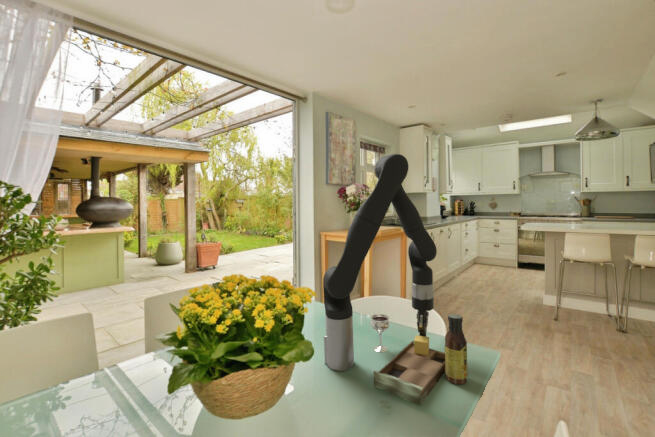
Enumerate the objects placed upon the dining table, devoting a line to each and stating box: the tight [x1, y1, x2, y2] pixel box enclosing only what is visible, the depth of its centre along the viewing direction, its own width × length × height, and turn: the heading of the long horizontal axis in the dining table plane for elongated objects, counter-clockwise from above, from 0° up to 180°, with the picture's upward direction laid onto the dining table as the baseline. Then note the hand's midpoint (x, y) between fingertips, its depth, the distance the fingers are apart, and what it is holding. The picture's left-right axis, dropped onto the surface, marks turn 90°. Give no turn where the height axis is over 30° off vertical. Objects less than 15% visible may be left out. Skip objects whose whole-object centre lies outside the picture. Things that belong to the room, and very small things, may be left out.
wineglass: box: [370, 313, 390, 353], centre depth 113 cm, size 7×7×12 cm
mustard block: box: [413, 334, 430, 356], centre depth 107 cm, size 4×4×4 cm
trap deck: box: [372, 340, 445, 406], centre depth 98 cm, size 14×28×4 cm, turn 141°
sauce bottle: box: [444, 313, 468, 385], centre depth 93 cm, size 6×6×20 cm
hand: (422, 341), depth 111 cm, fingers closed
